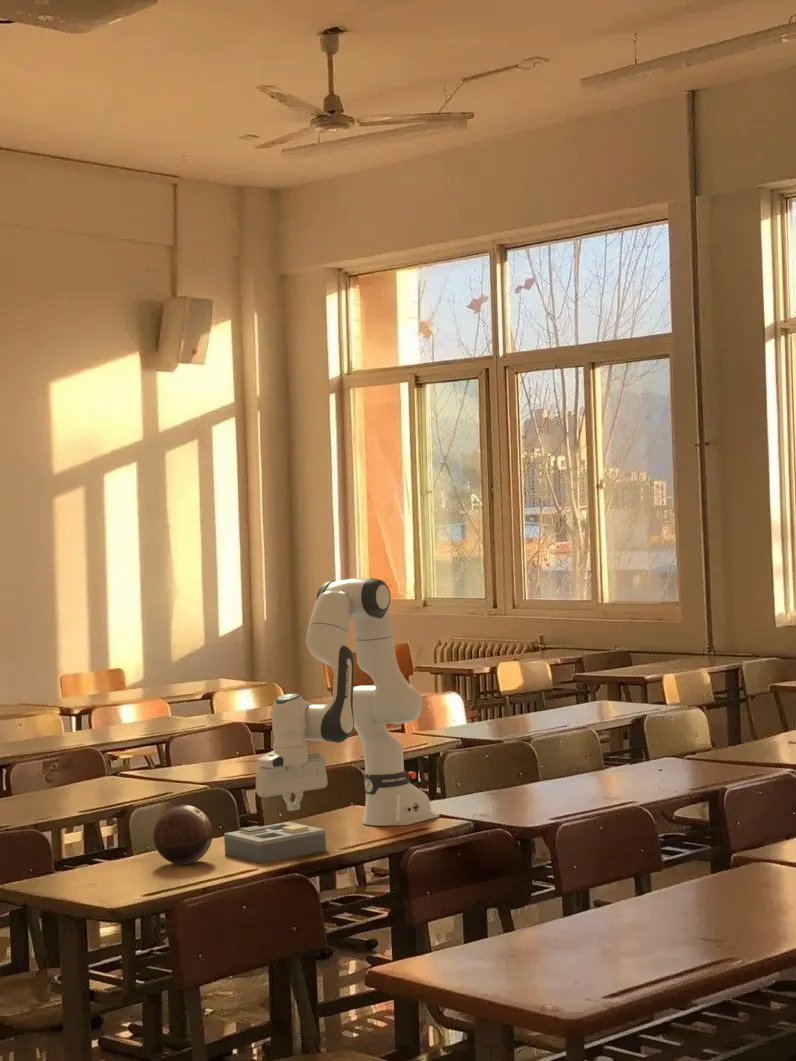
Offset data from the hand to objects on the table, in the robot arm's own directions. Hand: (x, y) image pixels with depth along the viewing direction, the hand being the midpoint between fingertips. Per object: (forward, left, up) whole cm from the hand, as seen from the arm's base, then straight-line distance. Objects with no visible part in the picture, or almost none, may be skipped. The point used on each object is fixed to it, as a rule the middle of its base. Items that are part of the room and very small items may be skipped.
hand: (293, 809), depth 392 cm
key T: (0, 0, -8) cm, 8 cm away
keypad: (+4, -4, -11) cm, 12 cm away
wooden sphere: (+27, -11, -11) cm, 31 cm away
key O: (+8, -8, -7) cm, 14 cm away
